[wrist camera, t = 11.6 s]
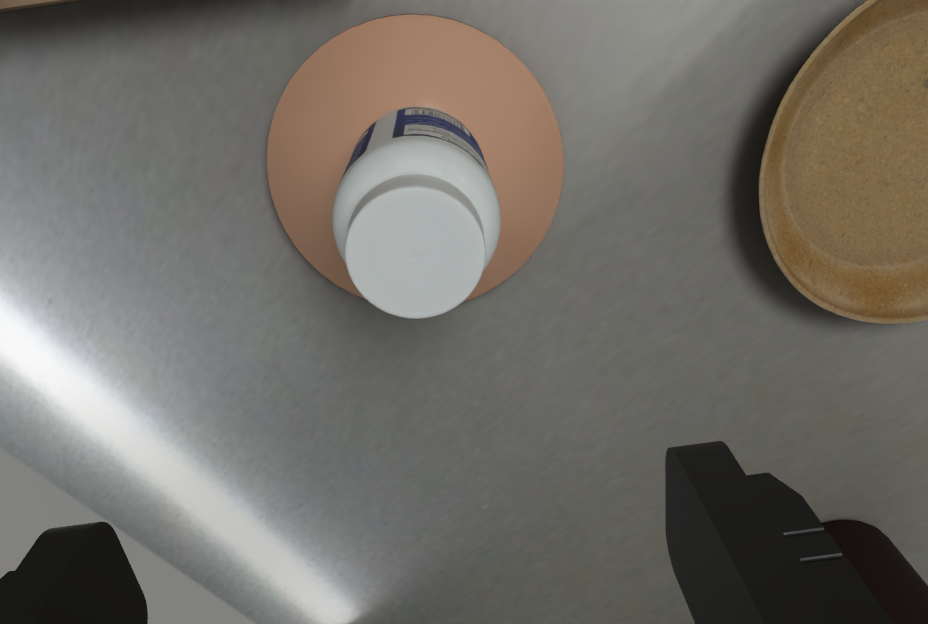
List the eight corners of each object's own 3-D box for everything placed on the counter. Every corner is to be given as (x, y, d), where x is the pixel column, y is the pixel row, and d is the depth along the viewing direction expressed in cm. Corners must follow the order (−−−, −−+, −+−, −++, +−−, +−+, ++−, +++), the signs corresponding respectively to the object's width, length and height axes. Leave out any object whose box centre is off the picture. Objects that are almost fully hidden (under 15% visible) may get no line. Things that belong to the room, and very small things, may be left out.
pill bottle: (394, 256, 30) (381, 370, 21) (326, 144, 28) (280, 220, 19) (507, 197, 29) (543, 291, 20) (446, 77, 27) (456, 123, 18)
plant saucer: (707, 31, 28) (732, 36, 26) (1089, -105, 26) (1154, -113, 24) (760, 338, 34) (784, 365, 32) (1072, 242, 33) (1122, 263, 30)
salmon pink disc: (308, 313, 32) (304, 325, 31) (239, 36, 27) (231, 39, 26) (567, 278, 32) (572, 289, 31) (547, -7, 27) (552, -7, 26)
